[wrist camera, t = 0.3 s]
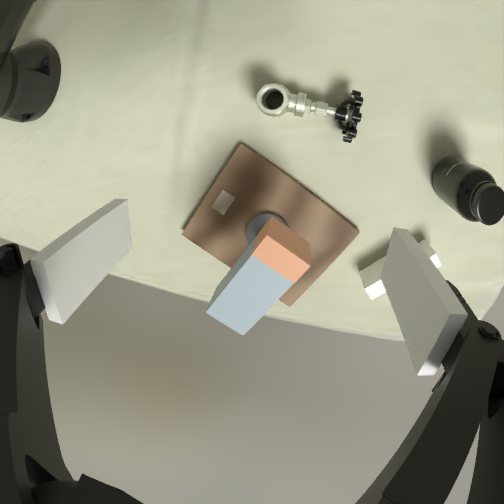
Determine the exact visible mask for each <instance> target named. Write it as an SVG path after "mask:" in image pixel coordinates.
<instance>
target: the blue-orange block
mask: <svg viewBox="0 0 504 504" xmlns="http://www.w3.org/2000/svg"><path fill="white" fill-rule="evenodd" d="M310 266H311V263H310V246H309V242H308V241H306V240H305V239H303V238H302V237H301V236H299V235H298V234H297V233H295V232H294V231H292V230H291V229H290V228H288V227H287V226H286V225H284V224H283V223H281V222H280V221H279V220H277V219H276V218H274V217H273V216H271V217H270V219H269V220H268V221H267V222H266V224H265V225H264V226H263V228H262V229H261V230H260V231H259V233H258V235H257V236H256V237H255V239H254V240H253V241H252V243H251V244H250V245H249V246H248V248H247V249H246V250H245V252H244V253H243V254H242V255H241V257H240V258H239V259H238V261H237V262H236V263H235V264H234V266H233V267H232V268H231V269H230V271H229V272H228V273H227V275H226V276H225V277H224V278H223V280H222V281H221V282H220V284H219V285H218V286H217V288H216V290H215V292H214V295H213V297H212V299H211V301H210V304H209V306H208V308H207V311H206V313H207V314H209V315H210V316H212V317H214V318H215V319H217V320H218V321H220V322H222V323H223V324H225V325H227V326H228V327H230V328H231V329H233V330H235V331H236V332H238V333H240V334H241V335H244V334H245V333H246V332H247V331H248V330H249V329H250V328H251V327H252V326H253V325H254V324H255V323H256V322H257V321H258V320H259V319H260V318H261V317H262V316H263V315H264V314H265V313H266V312H267V311H268V310H269V309H270V308H271V307H272V306H273V305H274V304H275V303H276V302H277V300H278V299H279V298H280V297H281V296H282V295H283V294H284V293H285V292H286V291H287V290H288V289H289V288H290V287H291V286H292V285H293V284H295V282H296V281H297V280H298V279H299V278H300V277H301V276H302V275H303V274H304V273H305V272H306V271H307V270H308V268H309V267H310Z"/></svg>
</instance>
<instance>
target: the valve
mask: <svg viewBox="0 0 504 504" xmlns="http://www.w3.org/2000/svg"><path fill="white" fill-rule="evenodd" d="M272 92H279V93H282V94H283V97H284V101H283V104H282V105H281V106H280V107H279V108H278V109H274V110H273V109H271V108H269V107H268V105H267V103H266V99H267V96H268V95H269V94H270V93H272ZM351 95H354V98H352V97H349V98H348V99H345V100H343V101H342V102H341V104H340V105H336V107H335V108H333V107H328V103H323V102H319V101H317V102H316V103H313V102H312V100H309V99H306V97H307V94H305V93H300V92H299V93H298V94H297V95H296V94H291V93H290V92H289V90H288V89H287V88H286V87H284V86H283V85H280V84H276V83H271V84H265V85H264V86H263V87H262V88H261V89H260V90H259V92H258V93H257V94H256V95H255V98H256V101H257V105H258V107H259V109H260V110H261V112H263V113H264V114H266V115H268V116H271V117H278V116H281V115H283V114H285V113H286V112H292V113H294V115H295V116H299V117H303V114H304V112H306V113H309V112H315V113H314V114H315V115H320V116H325V117H326V114H328V115H332V116H334V120H336V121H337V125H338V127H339V128H340V129H341V130H342V134H345V135H347V137H345V136H343V141H344V142H348V143H351V142H352V138H355V137H356V134H357V129H356V126H357V122H360V121H361V117H362V114H361V113H359V112H360V106H362V104H363V97H361V92H359V91H355V90H352V93H351ZM347 104H349V105H350V106H349V107H345V106H346V105H347ZM342 122H344V123H346V126H345V125H343V124H342Z"/></svg>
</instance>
